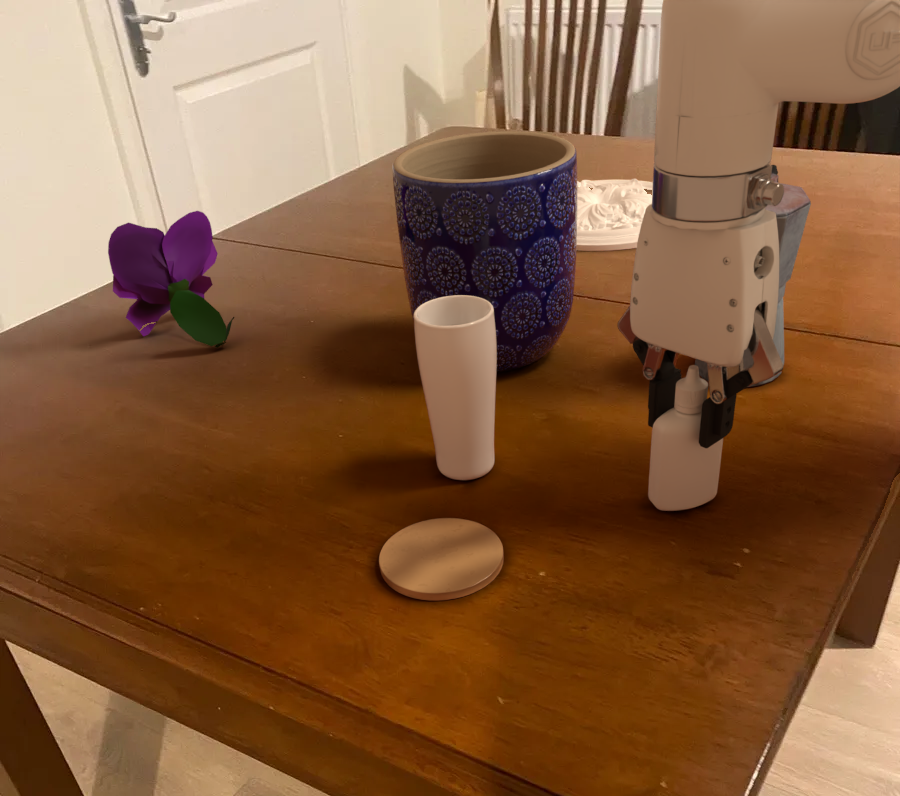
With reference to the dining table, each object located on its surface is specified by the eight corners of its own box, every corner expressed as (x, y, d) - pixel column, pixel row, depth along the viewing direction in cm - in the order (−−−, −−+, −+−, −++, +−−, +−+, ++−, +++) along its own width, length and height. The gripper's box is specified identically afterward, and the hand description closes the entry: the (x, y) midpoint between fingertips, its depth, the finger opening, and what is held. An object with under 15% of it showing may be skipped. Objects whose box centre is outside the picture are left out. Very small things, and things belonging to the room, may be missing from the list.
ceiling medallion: (729, 197, 138) (732, 175, 136) (656, 261, 120) (657, 236, 118) (562, 182, 151) (562, 161, 149) (474, 237, 133) (473, 215, 131)
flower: (269, 360, 118) (207, 292, 121) (281, 269, 106) (211, 195, 109) (171, 403, 111) (108, 330, 114) (172, 311, 98) (100, 231, 101)
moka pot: (675, 396, 92) (692, 185, 79) (703, 333, 102) (723, 138, 90) (774, 406, 89) (809, 188, 76) (793, 340, 99) (826, 139, 87)
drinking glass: (511, 452, 86) (504, 296, 76) (490, 491, 81) (480, 329, 72) (444, 445, 88) (428, 292, 78) (419, 483, 83) (400, 324, 74)
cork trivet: (529, 558, 73) (529, 550, 73) (435, 618, 68) (434, 610, 68) (446, 511, 79) (445, 503, 79) (355, 563, 74) (353, 556, 74)
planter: (551, 396, 94) (548, 183, 81) (387, 380, 100) (360, 179, 87) (593, 323, 107) (597, 130, 94) (446, 312, 113) (430, 129, 100)
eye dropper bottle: (649, 483, 80) (657, 353, 72) (716, 486, 78) (731, 355, 71) (646, 511, 76) (654, 379, 69) (716, 515, 75) (731, 381, 68)
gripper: (855, 195, 58) (809, 446, 70) (644, 159, 69) (634, 383, 80) (789, 229, 55) (752, 487, 66) (577, 186, 65) (577, 416, 77)
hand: (688, 428), depth 73 cm, fingers closed on eye dropper bottle, 4 cm apart
